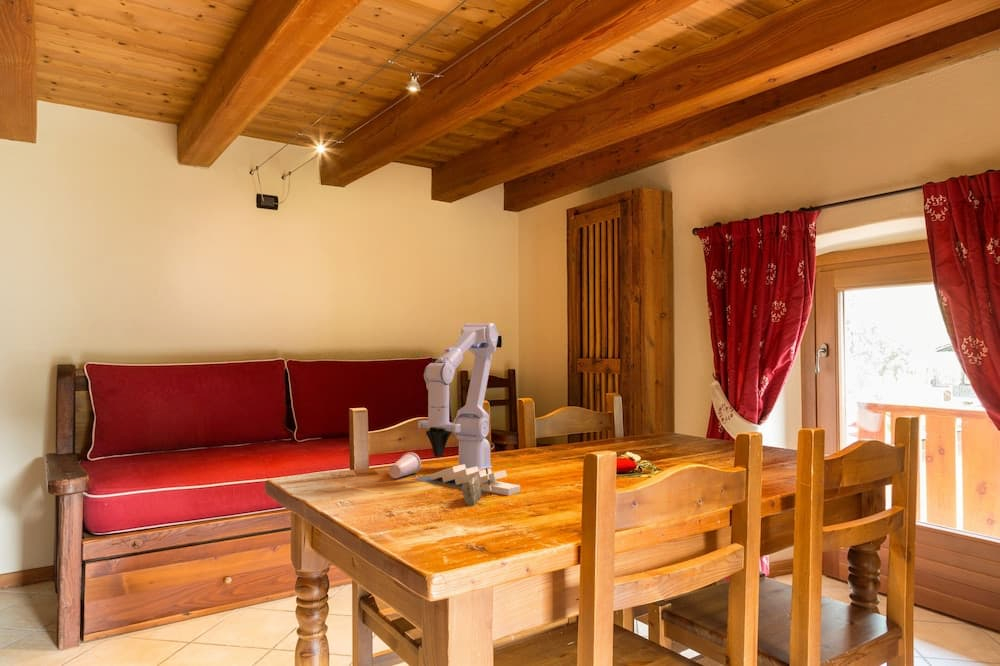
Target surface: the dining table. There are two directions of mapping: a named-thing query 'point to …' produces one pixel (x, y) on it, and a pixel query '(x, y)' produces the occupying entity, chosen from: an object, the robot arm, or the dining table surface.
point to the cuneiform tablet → (473, 489)
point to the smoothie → (405, 465)
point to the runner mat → (440, 482)
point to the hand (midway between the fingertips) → (438, 456)
